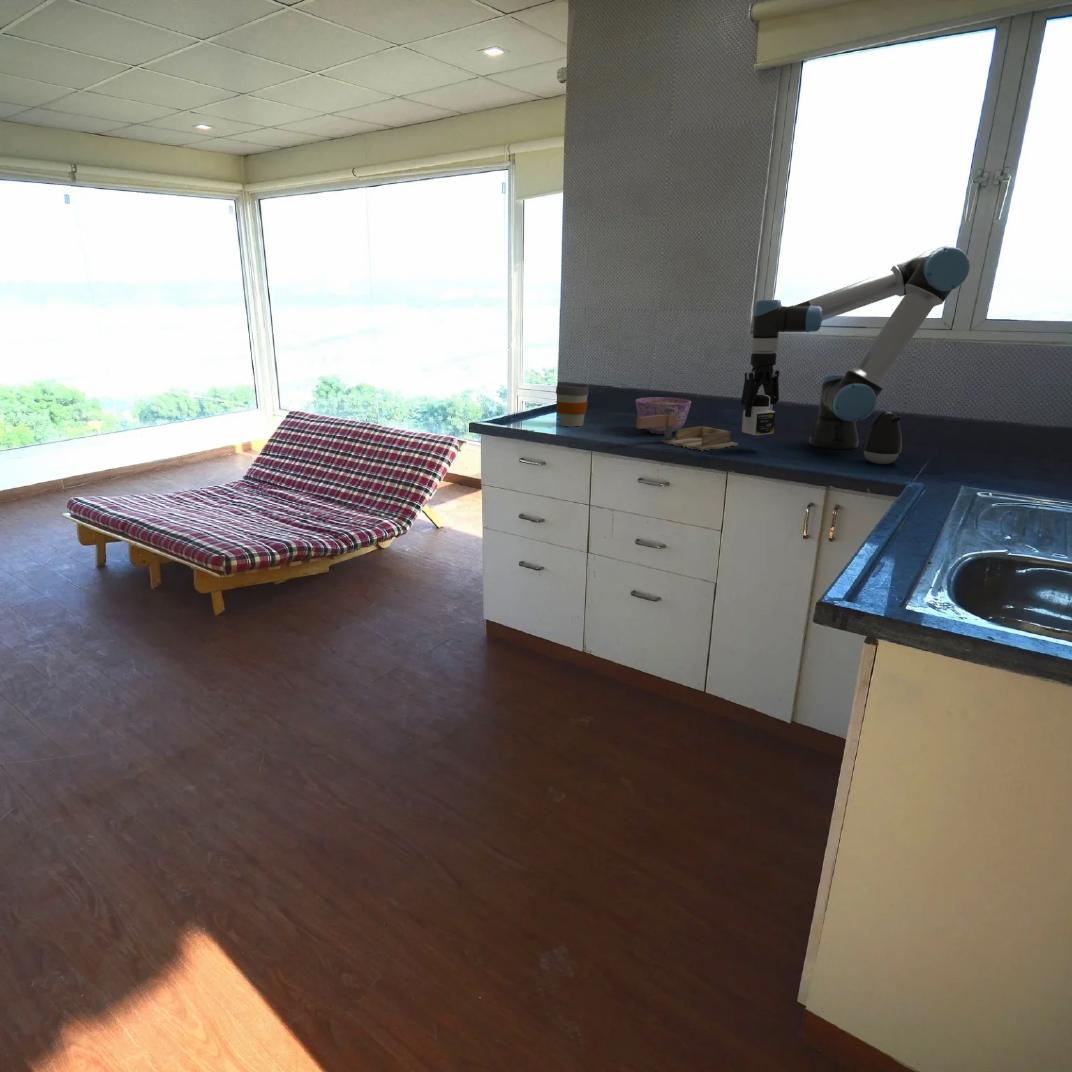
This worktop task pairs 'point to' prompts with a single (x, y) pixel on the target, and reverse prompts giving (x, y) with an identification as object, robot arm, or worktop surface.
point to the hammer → (659, 422)
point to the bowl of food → (663, 410)
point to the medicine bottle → (761, 417)
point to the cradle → (701, 438)
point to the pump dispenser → (883, 439)
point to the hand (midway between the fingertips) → (758, 425)
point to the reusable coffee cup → (571, 404)
